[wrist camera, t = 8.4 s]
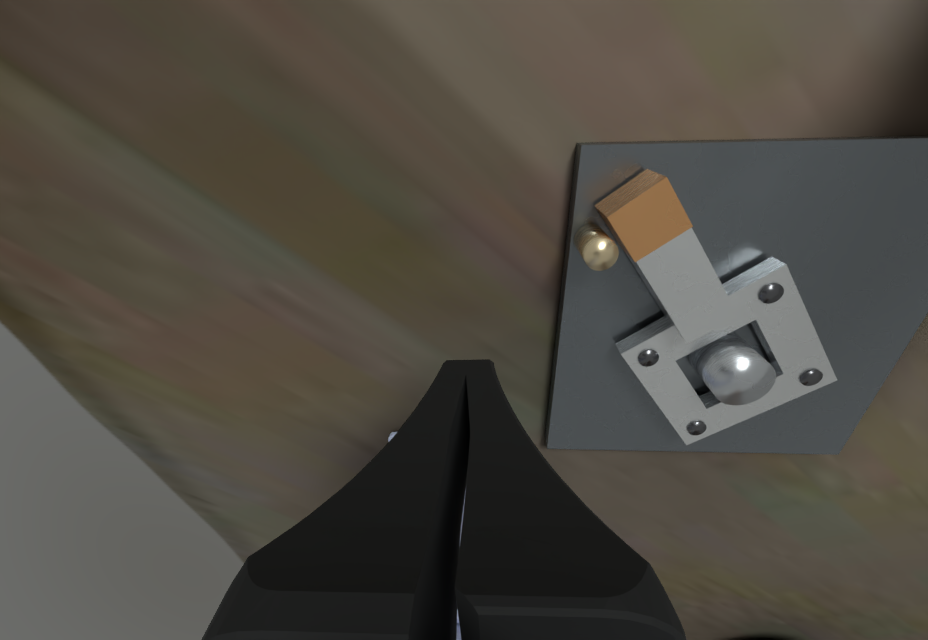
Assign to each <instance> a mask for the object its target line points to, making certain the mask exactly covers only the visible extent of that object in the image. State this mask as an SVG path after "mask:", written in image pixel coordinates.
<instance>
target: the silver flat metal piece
mask: <svg viewBox="0 0 928 640" xmlns="http://www.w3.org/2000/svg"><path fill="white" fill-rule="evenodd" d="M594 206H595V207H596V209H597V211H598V212H599V214H600V215H601V217H602V219H603V220H604V222H605V223H606V225H607V226H608V228H609V230H610V231H611V233H612V234H613V236H614V238H615V239H616V241H617V242H618V244H619V246H620V247H621V248H622V249H623V250H624V251H625V253H626V254H627V256H628V258H629V259H630V261H631V262H632V264H633V265H634V267H635V269H636V270H637V272H638V273H639V275H640V277H641V278H642V280H643V281H644V283H645V285H646V286H647V288H648V289H649V291H650V293H651V294H652V296H653V297H654V299H655V301H656V302H657V304H658V305H659V307H660V309H661V310H662V312H663V313H664V315H665V316H664V317H662V318H660V319H659V320H657V321H655V322H653V323H651V324H650V325H648V326H646V327H644V328H642V329H641V330H639V331H637V332H635V333H633V334H632V335H630V336H628V337H626V338H625V339H623V340H621V341H619V342H617V343H616V346H617V348H618V350H619V352H620V354H621V355H622V357H623V358H624V359H625V361H626V362H627V364H628V365H629V366H630V368H631V369H632V370H633V372H634V373H635V375H636V376H637V377H638V379H639V380H640V382H641V383H642V384H643V386H644V387H645V388H646V390H647V391H648V393H649V394H650V395H651V397H652V398H653V400H654V401H655V402H656V404H657V405H658V407H659V408H660V409H661V411H662V412H663V413H664V415H665V416H666V418H667V419H668V420H669V422H670V423H671V425H672V426H673V427H674V429H675V430H676V431H677V433H678V434H679V436H680V437H681V438H682V440H683V441H684V443H685V444H686V445H689V444H691V443H693V442H696V441H698V440H700V439H703V438H705V437H707V436H709V435H712V434H714V433H716V432H719V431H721V430H723V429H726V428H728V427H730V426H733V425H735V424H737V423H740V422H742V421H744V420H747V419H749V418H751V417H754V416H756V415H758V414H761V413H763V412H765V411H767V410H770V409H772V408H774V407H777V406H779V405H781V404H784V403H786V402H788V401H791V400H793V399H795V398H798V397H800V396H802V395H805V394H807V393H809V392H812V391H814V390H816V389H819V388H821V387H823V386H825V385H828V384H830V383H832V382H835V381H837V378H836V376H835V374H834V371H833V369H832V367H831V365H830V362H829V360H828V358H827V355H826V353H825V351H824V349H823V346H822V344H821V342H820V340H819V337H818V335H817V333H816V331H815V328H814V326H813V324H812V321H811V319H810V317H809V315H808V312H807V310H806V308H805V306H804V303H803V301H802V299H801V296H800V294H799V292H798V290H797V287H796V285H795V283H794V281H793V278H792V276H791V274H790V271H789V269H788V267H787V265H786V264H785V263H783V262H781V261H779V260H777V259H775V258H774V257H770V258H768V259H767V260H765V261H763V262H761V263H759V264H758V265H756V266H754V267H752V268H750V269H749V270H747V271H745V272H743V273H741V274H740V275H738V276H736V277H734V278H732V279H731V280H729V281H727V282H725V283H723V284H721V282H720V280H719V278H718V276H717V274H716V272H715V270H714V269H713V267H712V265H711V263H710V261H709V259H708V257H707V255H706V253H705V252H704V250H703V248H702V246H701V244H700V242H699V240H698V238H697V237H696V235H695V233H694V231H693V229H692V227H693V225H692V223H691V221H690V220H689V218H688V216H687V214H686V212H685V210H684V208H683V206H682V204H681V203H680V201H679V199H678V197H677V195H676V193H675V191H674V189H673V187H672V186H671V184H670V182H669V180H668V178H667V177H666V176H664V175H661V174H659V173H656V172H654V171H651V170H649V169H646V170H644V171H643V172H641V173H640V174H638V175H637V176H636V177H634V178H633V179H631V180H630V181H628V182H627V183H626V184H624V185H623V186H621V187H620V188H618V189H617V190H616V191H614V192H613V193H611V194H610V195H609V196H607V197H606V198H604V199H603V200H601V201H600V202H599V203H597V204H596V205H594ZM748 323H751V325H752V327H753V329H754V331H755V333H756V334H757V336H758V338H759V340H760V342H761V344H762V346H763V348H764V350H765V352H766V354H767V356H768V358H769V359H770V361H771V363H770V364H771V365H772V366H773V368H774V369H775V372H776V380H775V383H774V385H773V387H772V388H771V390H770V391H769V392H768V393H767V394H766V395H764V396H763V397H762V398H760V399H758V400H756V401H754V402H751V403H748V404H744V405H728V404H724V403H722V402H721V401H719V400H718V399H717V398H716V397H715V395H714V394H713V393H712V392H711V391H709V392H707V393H705V394H703V395H701V396H698V395H697V393H696V392H695V390H694V389H693V387H692V386H691V384H690V383H689V381H688V380H687V378H686V376H685V375H684V373H683V372H682V370H681V369H680V367H679V366H678V364H677V363H676V360H678V359H680V358H682V357H684V356H686V355H688V354H690V353H692V352H694V351H695V350H697V349H699V348H701V347H703V346H705V345H707V344H709V343H711V342H713V341H715V340H717V339H719V338H721V337H723V336H725V335H727V334H729V333H731V332H733V331H735V330H737V329H739V328H741V327H742V326H744V325H746V324H748Z"/></svg>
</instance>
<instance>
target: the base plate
mask: <svg viewBox="0 0 928 640" xmlns="http://www.w3.org/2000/svg"><path fill="white" fill-rule="evenodd" d="M646 169H649V170H651V171H654V172H656V173H659V174H661V175H664V176H666V177H667V178H668V180H669V182H670V184H671V186H672V187H673V189H674V191H675V193H676V195H677V197H678V199H679V201H680V203H681V204H682V206H683V208H684V210H685V212H686V214H687V216H688V218H689V220H690V221H691V223H692V225H693V227H692V229H693V231H694V233H695V235H696V237H697V238H698V240H699V242H700V244H701V246H702V248H703V250H704V252H705V253H706V255H707V257H708V259H709V261H710V263H711V265H712V267H713V269H714V270H715V272H716V274H717V276H718V278H719V280H720V282H721V284H723V283H725V282H727V281H729V280H731V279H732V278H734V277H736V276H738V275H740V274H741V273H743V272H745V271H747V270H749V269H750V268H752V267H754V266H756V265H758V264H759V263H761V262H763V261H765V260H767V259H768V258H770V257H774V258H775V259H777V260H779V261H781V262H783V263H785V264H786V265H787V267H788V269H789V271H790V274H791V276H792V278H793V281H794V283H795V285H796V287H797V290H798V292H799V294H800V296H801V299H802V301H803V303H804V306H805V308H806V310H807V312H808V315H809V317H810V319H811V321H812V324H813V326H814V328H815V331H816V333H817V335H818V337H819V340H820V342H821V344H822V346H823V349H824V351H825V353H826V355H827V358H828V360H829V362H830V365H831V367H832V369H833V371H834V374H835V376H836V378H837V381H835V382H832V383H830V384H828V385H825V386H823V387H821V388H819V389H816V390H814V391H812V392H809V393H807V394H805V395H802V396H800V397H798V398H795V399H793V400H791V401H788V402H786V403H784V404H781V405H779V406H777V407H774V408H772V409H770V410H767V411H765V412H763V413H761V414H758V415H756V416H754V417H751V418H749V419H747V420H744V421H742V422H740V423H737V424H735V425H733V426H730V427H728V428H726V429H723V430H721V431H719V432H716V433H714V434H712V435H709V436H707V437H705V438H703V439H700V440H698V441H696V442H693V443H691V444H689V445H686V444H685V443H684V441H683V440H682V438H681V437H680V436H679V434H678V433H677V431H676V430H675V429H674V427H673V426H672V425H671V423H670V422H669V420H668V419H667V418H666V416H665V415H664V413H663V412H662V411H661V409H660V408H659V407H658V405H657V404H656V402H655V401H654V400H653V398H652V397H651V395H650V394H649V393H648V391H647V390H646V388H645V387H644V386H643V384H642V383H641V382H640V380H639V379H638V377H637V376H636V375H635V373H634V372H633V370H632V369H631V368H630V366H629V365H628V364H627V362H626V361H625V359H624V358H623V357H622V355H621V354H620V352H619V350H618V348H617V346H616V343H617V342H619V341H621V340H623V339H625V338H626V337H628V336H630V335H632V334H633V333H635V332H637V331H639V330H641V329H642V328H644V327H646V326H648V325H650V324H651V323H653V322H655V321H657V320H659V319H660V318H662V317H664V316H665V315H664V313H663V312H662V310H661V309H660V307H659V305H658V304H657V302H656V301H655V299H654V297H653V296H652V294H651V293H650V291H649V289H648V288H647V286H646V285H645V283H644V281H643V280H642V278H641V277H640V275H639V273H638V272H637V270H636V269H635V267H634V265H633V264H632V262H631V261H630V259H629V258H628V256H627V254H626V253H625V251H624V250H623V249H622V248H621V247H620V246H619V244H618V242H617V241H616V239H615V238H614V236H613V234H612V233H611V231H610V230H609V228H608V226H607V225H606V223H605V222H604V220H603V219H602V217H601V215H600V214H599V212H598V211H597V209H596V207H595V206H594V205H596V204H597V203H599V202H600V201H601V200H603V199H604V198H606V197H607V196H609V195H610V194H611V193H613V192H614V191H616V190H617V189H618V188H620V187H621V186H623V185H624V184H626V183H627V182H628V181H630V180H631V179H633V178H634V177H636V176H637V175H638V174H640V173H641V172H643V171H644V170H646ZM927 313H928V136H895V137H845V138H795V139H745V140H696V141H646V142H596V143H577V145H576V154H575V164H574V173H573V182H572V191H571V201H570V210H569V219H568V228H567V238H566V247H565V256H564V265H563V275H562V284H561V293H560V302H559V312H558V321H557V330H556V339H555V349H554V358H553V367H552V377H551V386H550V395H549V404H548V414H547V423H546V432H545V440H546V446H547V449H592V450H642V451H692V452H742V453H792V454H839V453H840V451H841V450H842V448H843V446H844V445H845V443H846V442H847V440H848V439H849V437H850V435H851V434H852V432H853V431H854V429H855V427H856V426H857V424H858V423H859V421H860V419H861V418H862V416H863V415H864V413H865V412H866V410H867V408H868V407H869V405H870V404H871V402H872V400H873V399H874V397H875V396H876V394H877V392H878V391H879V389H880V388H881V386H882V385H883V383H884V381H885V380H886V378H887V377H888V375H889V373H890V372H891V370H892V369H893V367H894V365H895V364H896V362H897V361H898V359H899V358H900V356H901V354H902V353H903V351H904V350H905V348H906V346H907V345H908V343H909V342H910V340H911V338H912V337H913V335H914V334H915V332H916V331H917V329H918V327H919V326H920V324H921V323H922V321H923V319H924V318H925V316H926V315H927ZM676 363H677V364H678V366H679V367H680V369H681V370H682V372H683V373H684V375H685V376H686V378H687V380H688V381H689V383H690V384H691V386H692V387H693V389H694V390H695V392H696V393H697V395H698V396H701V395H703V394H705V393H707V392H709V391H711V392H712V393H713V394H714V395H715V397H716V398H717V399H718V400H719V401H721V402H722V403H724V404H728V405H744V404H748V403H751V402H754V401H756V400H758V399H760V398H762V397H763V396H764V395H766V394H767V393H768V392H769V391H770V390H771V388H772V387H773V385H774V383H775V380H776V372H775V369H774V368H773V366H772V365H771V364H770V363H771V361H770V359H769V358H768V356H767V354H766V352H765V350H764V348H763V346H762V344H761V342H760V340H759V338H758V336H757V334H756V333H755V331H754V329H753V327H752V325H751V323H748V324H746V325H744V326H742V327H741V328H739V329H737V330H735V331H733V332H731V333H729V334H727V335H725V336H723V337H721V338H719V339H717V340H715V341H713V342H711V343H709V344H707V345H705V346H703V347H701V348H699V349H697V350H695V351H694V352H692V353H690V354H688V355H686V356H684V357H682V358H680V359H678V360H676Z"/></svg>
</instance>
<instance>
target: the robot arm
mask: <svg viewBox="0 0 928 640" xmlns="http://www.w3.org/2000/svg"><path fill="white" fill-rule="evenodd" d="M202 640H686V636H685V633H684V630H683V628H682V625H681V622H680V620H679V618H678V616H677V614H676V612H675V610H674V608H673V605H672V603H671V601H670V600H669V598H668V596H667V594H666V592H665V590H664V588H663V586H662V584H661V582H660V581H659V579H658V577H657V575H656V574H655V572H654V570H653V568H652V567H651V565H650V564H649V563H648V562H647V561H646V560H645V559H644V558H642V557H641V556H640V555H639V554H638V553H637V552H635V551H634V550H633V549H632V548H631V547H630V546H628V545H627V544H626V543H625V542H624V541H623V540H622V539H621V538H620V537H618V536H617V535H616V534H615V533H614V532H613V531H612V530H611V529H610V528H608V527H607V526H606V525H605V524H604V523H603V522H602V521H601V520H600V519H599V518H598V517H597V516H596V515H595V514H594V513H593V512H592V511H591V510H590V509H589V508H588V507H587V506H586V505H585V504H584V503H583V502H582V501H581V500H580V498H579V497H578V496H577V495H576V494H575V493H574V492H573V491H572V490H571V489H570V488H569V486H568V485H567V484H566V483H565V482H564V481H563V480H562V479H561V478H560V477H559V475H558V474H557V473H556V472H555V471H554V469H553V468H552V467H551V466H550V464H549V463H548V462H547V461H546V459H545V458H544V457H543V455H542V454H541V453H540V451H539V450H538V449H537V447H536V446H535V445H534V443H533V442H532V440H531V439H530V437H529V436H528V434H527V433H526V431H525V430H524V428H523V426H522V425H521V423H520V422H519V420H518V418H517V417H516V415H515V413H514V411H513V410H512V408H511V406H510V404H509V402H508V400H507V398H506V396H505V394H504V392H503V390H502V388H501V385H500V383H499V380H498V378H497V375H496V372H495V368H494V363H493V362H492V361H491V360H447V361H446V362H444V363H443V365H442V367H441V369H440V371H439V373H438V375H437V376H436V378H435V380H434V381H433V383H432V385H431V386H430V388H429V390H428V391H427V393H426V394H425V396H424V397H423V398H422V400H421V401H420V403H419V404H418V406H417V407H416V409H415V410H414V411H413V413H412V414H411V415H410V417H409V418H408V419H407V420H406V422H405V423H404V424H403V426H402V427H401V428H400V429H399V431H398V432H392V433H390V435H389V438H388V444H387V445H386V446H385V447H384V448H383V449H382V450H381V451H380V452H379V453H378V454H377V455H376V456H375V458H374V459H373V460H372V461H371V462H370V463H368V464H367V465H366V466H365V467H364V468H363V469H362V470H361V471H360V472H359V473H358V474H357V475H356V476H355V477H354V478H353V479H352V480H351V481H350V482H348V483H347V484H346V485H345V486H344V487H343V488H342V489H341V490H339V491H338V492H337V493H336V494H334V495H333V496H332V497H331V498H330V499H328V500H327V501H326V502H325V503H323V504H322V505H321V506H320V507H318V508H317V509H316V510H315V511H314V512H312V513H311V514H310V515H308V516H307V517H306V518H304V519H303V520H302V521H300V522H299V523H298V524H296V525H295V526H293V527H292V528H291V529H289V530H288V531H286V532H285V533H283V534H282V535H280V536H279V537H277V538H276V539H274V540H273V541H272V542H270V543H269V544H267V545H266V546H264V547H263V548H261V549H260V550H258V551H257V552H255V553H254V554H252V555H251V556H249V557H248V558H247V560H246V561H245V563H244V565H243V566H242V568H241V570H240V571H239V573H238V574H237V576H236V577H235V579H234V580H233V582H232V584H231V585H230V587H229V589H228V591H227V592H226V594H225V596H224V598H223V600H222V602H221V604H220V605H219V608H218V609H217V611H216V613H215V615H214V617H213V619H212V621H211V623H210V625H209V627H208V628H207V630H206V632H205V634H204V636H203V638H202Z"/></svg>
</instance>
